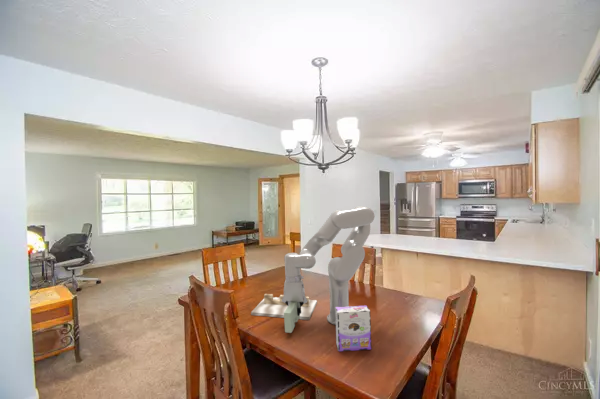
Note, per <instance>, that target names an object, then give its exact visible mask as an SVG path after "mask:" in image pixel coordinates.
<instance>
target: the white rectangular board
mask: <svg viewBox="0 0 600 399" xmlns="http://www.w3.org/2000/svg"><path fill="white" fill-rule="evenodd" d="M283 297H284V294H280V295H279V297H277V296H275V297H274V294H273V293H264V295H263V299H262V300H261V301H260V302H259V303H258V304H257V306H255V308H253V310H251V312H250V315H251V316H259V317H270V318H271V317H272V318H281V319H284V312H285V310H286V309H287V307H288V305H287V304H286V303H284V302H282V299H283ZM305 297H306V299H307V300H308V301H307V303H305V304H303V305H302V306H301V314H300V317H299V319H298V320H302V321H303V320H305V321H310V319H311V317H312V315H313V313H314V311H315V308H316V305H317V303H318V300H316V299H310V297H309V296H306V295H305ZM303 301H304V300H303Z"/></svg>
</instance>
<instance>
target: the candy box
mask: <svg viewBox="0 0 600 399" xmlns="http://www.w3.org/2000/svg"><path fill="white" fill-rule="evenodd" d="M335 311H336V325H335V341H336V342H335V343H336V348H337V351H338V352H350V351H353V352H354V351H365V350H372V329H371V321H372V320H371V310H370V309H369V307H368V306H367V305H353V306H352V305H350V306H347V307H335Z"/></svg>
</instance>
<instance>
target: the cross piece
mask: <svg viewBox="0 0 600 399" xmlns="http://www.w3.org/2000/svg"><path fill="white" fill-rule="evenodd" d="M297 308H298V304H297V302H291V303H290V304H289V306H288V307H287V309H286V310H285V312H284V318H283V321H284V322H283V324H284V332H285V333H289V334H291V333H293V331H294V328H295V327H296V323H298V321H299V320H300V319H299V317H300V315H299V316H298V314H297Z"/></svg>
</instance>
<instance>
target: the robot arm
mask: <svg viewBox="0 0 600 399" xmlns="http://www.w3.org/2000/svg"><path fill="white" fill-rule="evenodd" d="M329 215H330V216H328V218H327V219H326V220H325V221H324V223H323V225H322V226H321V227H320V228H319V229H318V230H317V232H316V233H315V234H314V235H313V236H311V238H310V239H308V241H307V242H306V244H305V245H304V247H302V249H301V251H300V252H299V253H297V252H288V253H286V254H285V255H284V273H285V281H284V284H283V295H284V297H283V299H282V302H284V303H286V304H287V305H288V306H289V304H290V303H291V302H297V304H298V308H297V314H298V316H299V315H300V314H301V306H302V305H303V304H305V303H307V301H308V300H307V299H306V297H307V296H306V290H305V285H304V281H303V279H304V276H303V275H302V273H301V269H303V270H304V269H305V270H308V269H312V268H314V266H315V265H316V262H317V261H316V254H317V253H318V252H319V251H320V250H321V249H322V248H324V246H327V245H329V244H331V243H332V242H333V241H334V240H335V238H336V237H337V236H338V234H339V233H340V231H341V230H343V229H352V230H351V232H350V233H349V235H348V236H347V238H346V240H344V242H343V243H342V245H341V248H340V252H341V254H342V256H341V257H339V256H337V257H333V258H332V259H331V260H329V262H328V266H327V272H328V283H329V288H328V289H329V291H328V292H329V314H328V315H327V316H326V321H327V322H328V323H330V324H332V325H334V326H336V311H335V307H347V306H349V281H350V280H352V278H353V277H354V276H355V274H356V272H357V271H358V269H359V268H360V266H361V265H362V263H363V262H364V259H365V256H366V251H365V247H364V245H365V243H366V241H367V239H368V238H369V236H370V234H371V233H370V232H371V223H373V222H374V220H375V216H376V214H375V212H374V211H373V209H372V208H371V207H367V206H361V205H358V206H354V207H353V209H351V210H350V209H349V210H342V209H337V210H334V211H333V212H332V213H331V214H329ZM305 296H306V297H305ZM303 300H304V301H303Z"/></svg>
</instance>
